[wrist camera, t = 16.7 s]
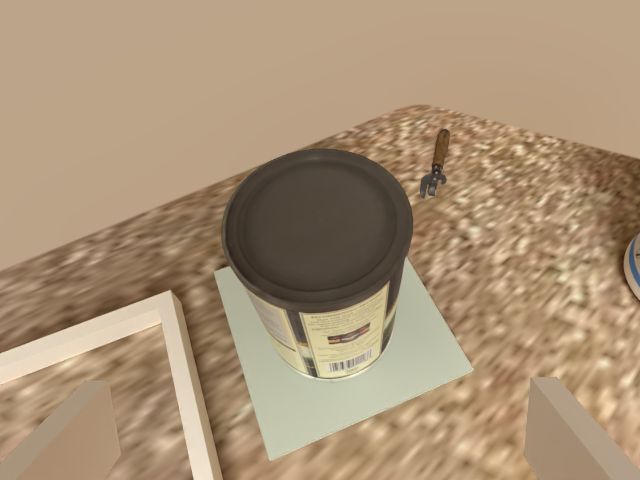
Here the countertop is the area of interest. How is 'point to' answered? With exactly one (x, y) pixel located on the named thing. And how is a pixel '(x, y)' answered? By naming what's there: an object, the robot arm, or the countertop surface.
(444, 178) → the can opener
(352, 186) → the coffee can
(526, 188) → the countertop surface
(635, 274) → the supplement tub
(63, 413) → the robot arm
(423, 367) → the mat
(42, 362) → the holder frame
